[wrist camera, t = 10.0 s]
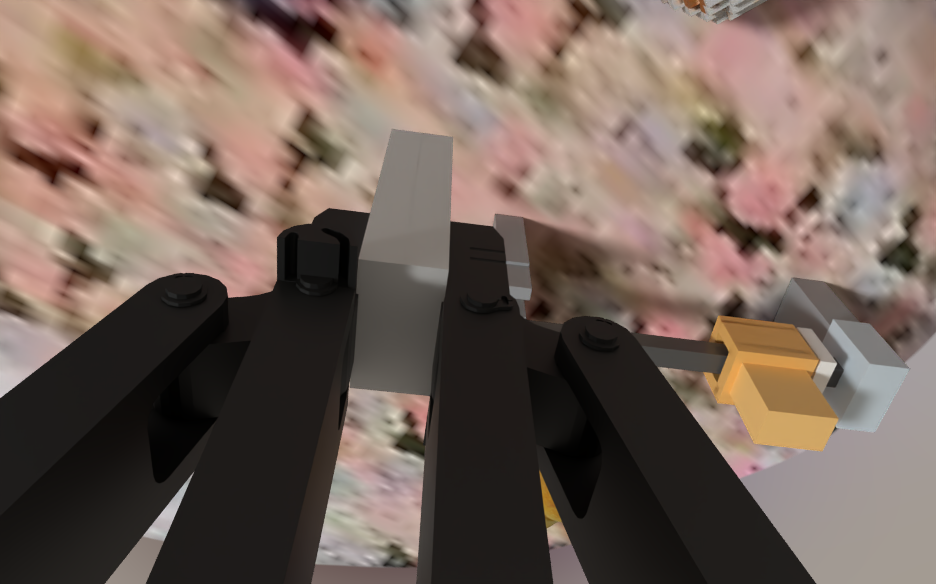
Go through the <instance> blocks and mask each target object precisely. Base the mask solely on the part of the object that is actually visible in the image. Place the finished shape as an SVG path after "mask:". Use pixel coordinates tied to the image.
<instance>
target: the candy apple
mask: <svg viewBox="0 0 936 584" xmlns="http://www.w3.org/2000/svg"><path fill="white" fill-rule="evenodd" d="M661 1H662V3H664V4H665V3H667V2H669V5H670V7H671V8H672V9H673V10H675V11H677V10H679V9H680V8H682V9H683V11H684V12H685V13H686V14H688V15H690V16H691V17H692V16H693V15H695V14H696V16H698V17H700V18H701V19H703V20H705V21H706V22H709V21H710V20H712V21H713V22H714V23H716V24H719V23H721V22H723V21H725V20H726V19H728V20H730V21H731V20H733V19H734V18H736V17H738V16H740V15H742V14H743V13H745V12H747V11H749V10H751V9H753V8H754V7H756V6H758V5H760V4H762V3H763V2H765V1H767V0H661Z"/></svg>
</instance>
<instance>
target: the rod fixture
mask: <svg viewBox="0 0 936 584" xmlns="http://www.w3.org/2000/svg"><path fill="white" fill-rule="evenodd" d="M493 227H494V228H495V229H496V230H497V232H498V233H499V234H500V235H501V236H502V237H503V238H504V245H505V254H506V264H507V272H508V281H509V290H510V295H511V296H512V297H514V298H515V299H516V301H517V303H518V305H519V308H520V315H521V316H522V317H524V318H525V319H526V312H525V303H524V300H530V296H531V292H532V285H531V277H530V270H529V264H530V263H529V256H528V249H527V242H526V235H525V228H524V221H523V217H515V216H508V215H500V214H495V217H494V223H493ZM529 321H530V322H532V323H534V324H536V325H539V326H542V327H544V328H547V329H551V330H554V331H557V332H560V331H561V329H562V326H563V324H556V323H548V322H540V321H531V320H529ZM774 322H777V323H785V324H793V325H794V326H795V328H796V329H797V331H798V332H799V333H800V335H801V336H802V338H803V339H804V340H805V342H806V343H807V345H808V346H809V347H810V349H811V350H812V352H813V353H814V354H815V356H816V357H817V358H818V360H819V361H818V364H817V366H816V368H815V370H814V372H813V374H812V376H811V378H812V380H813V381H814V383H815V384H816V386H817V387H818V389H819V390H820V392H821V393H822V395H823V396H824V398H825V399H826V400H827V402H828V403H829V405H830V406H831V408H832V409H833V411H834V412H835V414H836V415H837V417H838V418H839V420H838V422H837V424H836V428H841V429H850V430H859V431H867V432H875V431H876V429H877V427H878V425H879V424H880V422H881V420H882V418H883V417H884V415H885V413H886V411H887V409H888V408H889V406H890V404H891V402H892V400H893V399H894V397H895V395H896V393H897V391H898V389H899V388H900V386H901V384H902V382H903V381H904V379H905V377H906V375H907V373H908V372H909V370H910V369H909V367H908V366H907V365H906V364H905V363H904V361H903V360H902V359H901V358H900V357H899V356H898V355H897V354H896V353H895V351H894V350H893V349H892V348H891V347H890V346H889V345H888V344H887V342H886V341H885V340H884V339H883V338H882V337H881V336H880V335H879V333H878V332H877V331H876V330H875V329H874V328H873V327H872V326H871V325H870V324H869V323H861V322H859V321H858V320H857V318H856V317H855V316H854V315H853V314H852V313H851V312H850V310H849V309H848V308H847V307H846V306H845V305H844V304H843V302H842V301H841V300H840V299H839V298H838V297H837V296H836V294H835V293H834V292H833V291H832V290H831V289H830V288H829V286H828V285H827V284H826V283H825V282H822V281H814V280H806V279H798V278H792V279H791V281H790V284H789V286H788V288H787V291H786V293H785V296H784V298H783V300H782V303H781V305H780V308H779V310H778V312H777V315H776V317H775V320H774ZM631 334H632V335H633V336H634V337H635V338H636V339H637V340H638V342H639V343H640V345H641V346H642V347H643V349H644V350H645V351H646V353H647V354H648V355H649V357H650V358H651V360H652V361H653V362H654V364H655V365H656V366H657V367H665V368H673V369H682V370H690V371H698V372H707V373H715V374H721V371H722V369H723V366H724V364H725V361H726V359H727V356H728V354H729V351H728V349H727V347H726V345H725V344H721V343H713V342H705V341H696V340H688V339H680V338H672V337H663V336H655V335H647V334H639V333H631Z"/></svg>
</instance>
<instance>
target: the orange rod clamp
mask: <svg viewBox="0 0 936 584" xmlns="http://www.w3.org/2000/svg"><path fill="white" fill-rule="evenodd" d="M709 342H713V343H721V344H725V345H726V347H727V349H728V351H729V354H728V356H727V359H726V361H725V364H724V366H723V369H722V371H721V374H715V373H707V372H704V375H705V377H706V379H707V381H708V383H709V385H710V387H711V390H712V392H713V394H714V396H715V398H716V400H717V402H718V403H723V404H731V405H735V406H736V408H737V410H738V412H739V414H740V416H741V418H742V420H743V422H744V424H745V426H746V428H747V430H748V432H749V434H750V436H751V438H752V440H753V442H754V444H762V445H771V446H780V447H789V448H798V449H807V450H816V451H823V449H824V447H825V445H826V443H827V441H828V439H829V437H830V435H831V433H832V431H833V429H834V427H835V426H836V424H837V422H838V420H839V418H838V417H837V415H836V414H835V412H834V411H833V409H832V408H831V406H830V405H829V403H828V402H827V400H826V399H825V398H824V396H823V395H822V393H821V392H820V390H819V389H818V387H817V386H816V384H815V383H814V381H813V380H812V378H811V376H812V374H813V372H814V370H815V368H816V366H817V364H818V361H819V360H818V358H817V357H816V356H815V354H814V353H813V352H812V350H811V349H810V347H809V346H808V345H807V343H806V342H805V340H804V339H803V338H802V336H801V335H800V333H799V332H798V331H797V329H796V328H795V326H794V325H793V324H785V323H777V322H769V321H760V320H752V319H744V318H736V317H728V316H720V315H719V316H718V318H717V321H716V324H715V326H714V329H713V332H712V335H711V337H710V340H709Z"/></svg>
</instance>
